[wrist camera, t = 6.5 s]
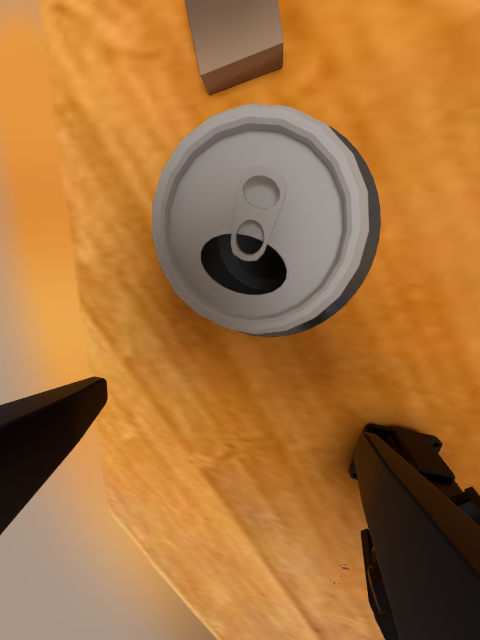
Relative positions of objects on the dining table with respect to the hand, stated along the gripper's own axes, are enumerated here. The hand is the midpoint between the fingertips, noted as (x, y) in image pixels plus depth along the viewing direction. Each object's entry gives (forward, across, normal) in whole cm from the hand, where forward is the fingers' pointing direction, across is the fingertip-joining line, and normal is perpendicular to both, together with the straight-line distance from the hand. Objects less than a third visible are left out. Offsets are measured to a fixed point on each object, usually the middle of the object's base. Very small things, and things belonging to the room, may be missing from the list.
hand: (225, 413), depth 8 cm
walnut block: (+13, +4, -18) cm, 23 cm away
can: (+13, 0, -6) cm, 14 cm away
